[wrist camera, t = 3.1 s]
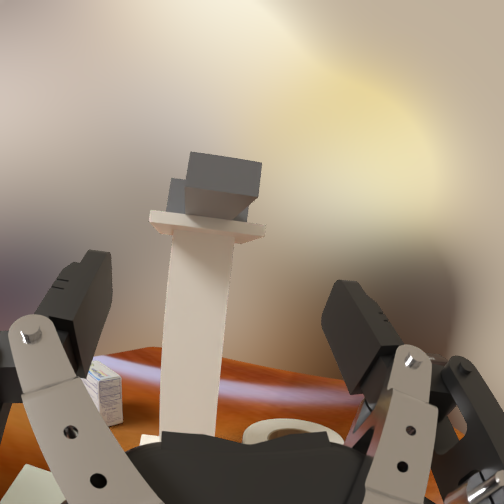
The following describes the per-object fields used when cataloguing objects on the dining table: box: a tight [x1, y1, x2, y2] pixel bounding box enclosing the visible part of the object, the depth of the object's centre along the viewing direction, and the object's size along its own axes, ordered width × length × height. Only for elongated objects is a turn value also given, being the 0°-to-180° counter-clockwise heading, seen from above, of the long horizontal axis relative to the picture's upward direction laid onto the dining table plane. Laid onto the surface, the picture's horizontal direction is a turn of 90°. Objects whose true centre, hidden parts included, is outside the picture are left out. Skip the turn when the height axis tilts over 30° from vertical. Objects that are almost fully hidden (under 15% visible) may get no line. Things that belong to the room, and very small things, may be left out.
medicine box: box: [81, 361, 123, 426], centre depth 42 cm, size 8×4×9 cm, turn 56°
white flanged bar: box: [140, 210, 266, 446], centre depth 31 cm, size 12×14×31 cm
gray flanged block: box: [166, 152, 262, 222], centre depth 27 cm, size 8×22×4 cm, turn 12°
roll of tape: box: [242, 419, 344, 445], centre depth 40 cm, size 16×15×3 cm
